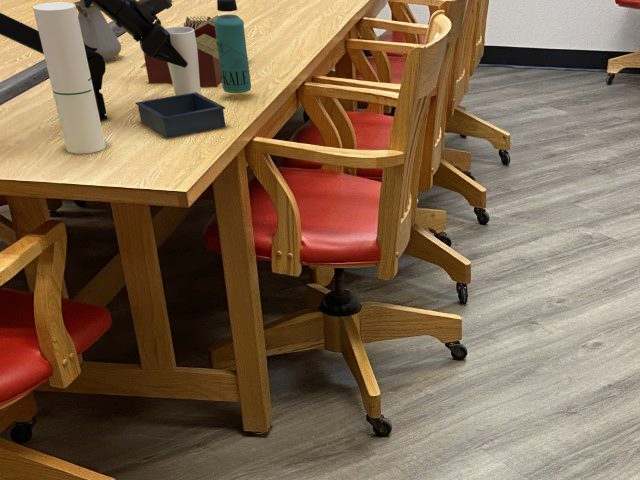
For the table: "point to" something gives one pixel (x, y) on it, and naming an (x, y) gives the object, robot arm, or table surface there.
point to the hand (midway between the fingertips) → (182, 60)
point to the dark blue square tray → (181, 114)
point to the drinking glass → (187, 47)
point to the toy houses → (206, 56)
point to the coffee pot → (97, 32)
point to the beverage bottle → (232, 49)
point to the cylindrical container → (69, 76)
